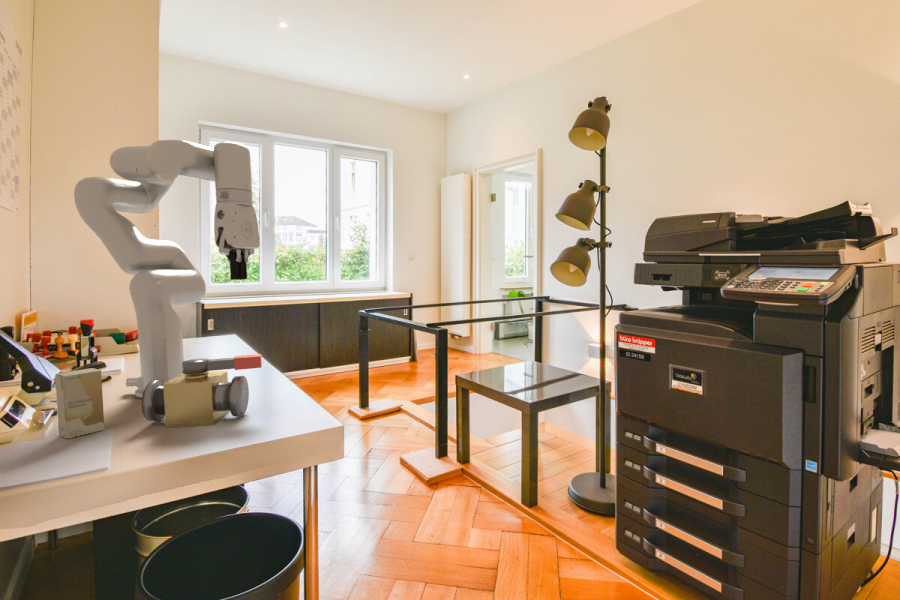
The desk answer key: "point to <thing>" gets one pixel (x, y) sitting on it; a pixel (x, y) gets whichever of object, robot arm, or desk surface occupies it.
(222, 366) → the lever
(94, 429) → the skincare box
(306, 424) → the desk surface
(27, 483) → the desk surface
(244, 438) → the desk surface
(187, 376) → the valve
